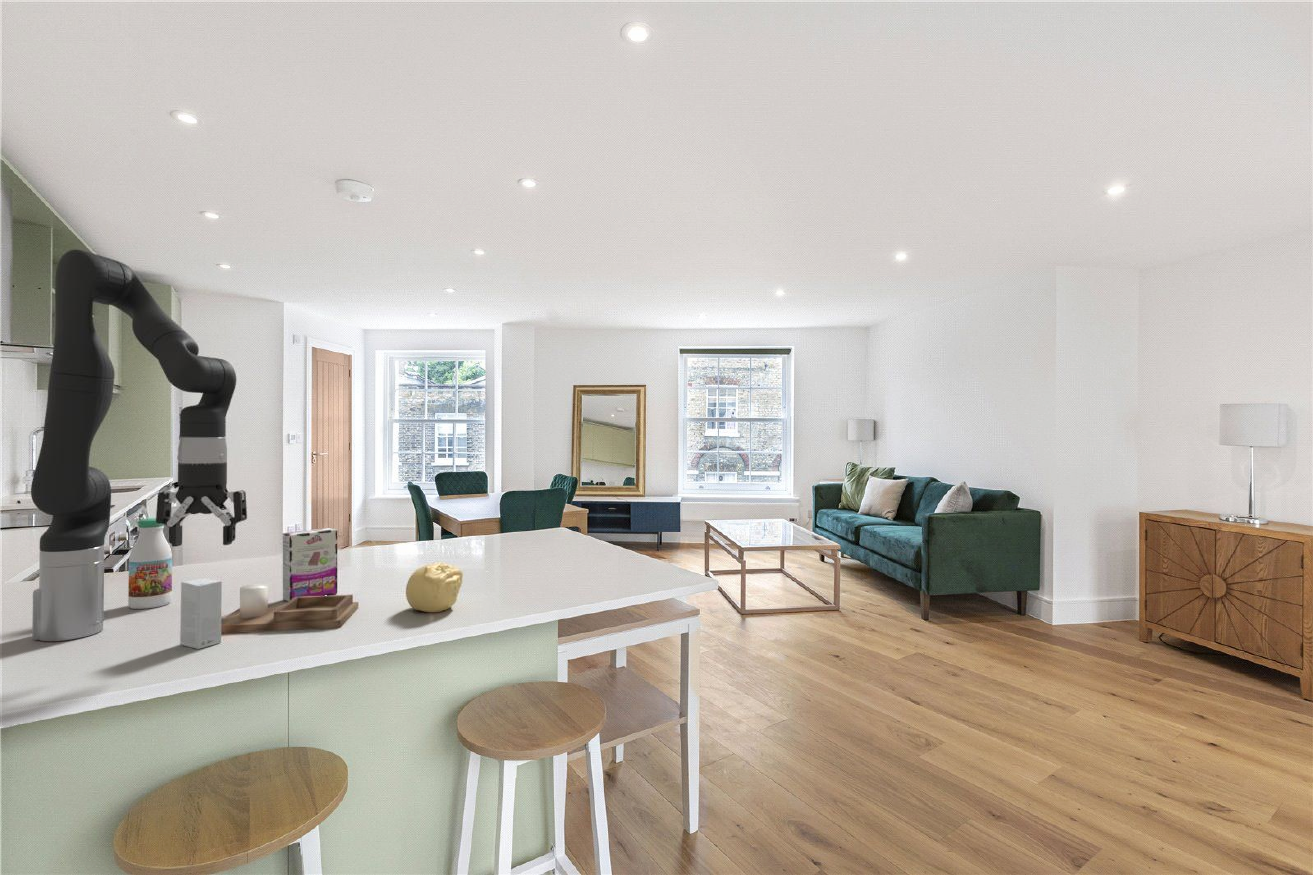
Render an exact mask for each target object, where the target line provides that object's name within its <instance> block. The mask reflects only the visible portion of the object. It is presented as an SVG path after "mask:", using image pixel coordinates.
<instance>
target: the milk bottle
mask: <svg viewBox="0 0 1313 875" xmlns="http://www.w3.org/2000/svg"><path fill="white" fill-rule="evenodd" d="M137 527H138V530H139V534H138V535H137V536H138V537H137V539H136V541H135V543H134V544H133V546H132V548H131V550H130V552H129V553H130V554H129V558H128V559H129V560H128V589H127V590H128V591H127V592H128V593H127V594H128V595H127V596H128V597H127V602H128V607H129V609H132V610H144V609H153V608H159V607H162V606H166V605H169V604H171V602H172V597H173V596H172V595H173V555H172V550H171V546H170V545H169V544H170V543H169V541H167V539H166V537H165V534H164V531H163V530H164V528H165V524H158V523H157V522H156V517H152V518H151V517H149V518H142V519H139V520H138V521H137Z"/></svg>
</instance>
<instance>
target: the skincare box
mask: <svg viewBox="0 0 1313 875" xmlns="http://www.w3.org/2000/svg"><path fill="white" fill-rule="evenodd" d="M222 582H223V581H222V580H215V579H211V578H205V577H203V578H197V579H191V580H186V581H182V582H180V629H179V630H180V633H179V635H180V636H179V638H180V639H179V644H180V645H182V646H185V647H189V648H192V649H197V650H200V649H204V648H206V647H210V646H214V645H218V644H221V643H222V633H221V619H222V597H223V596H222V595H223V592H222V590H223V585H222V584H223V583H222Z"/></svg>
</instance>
